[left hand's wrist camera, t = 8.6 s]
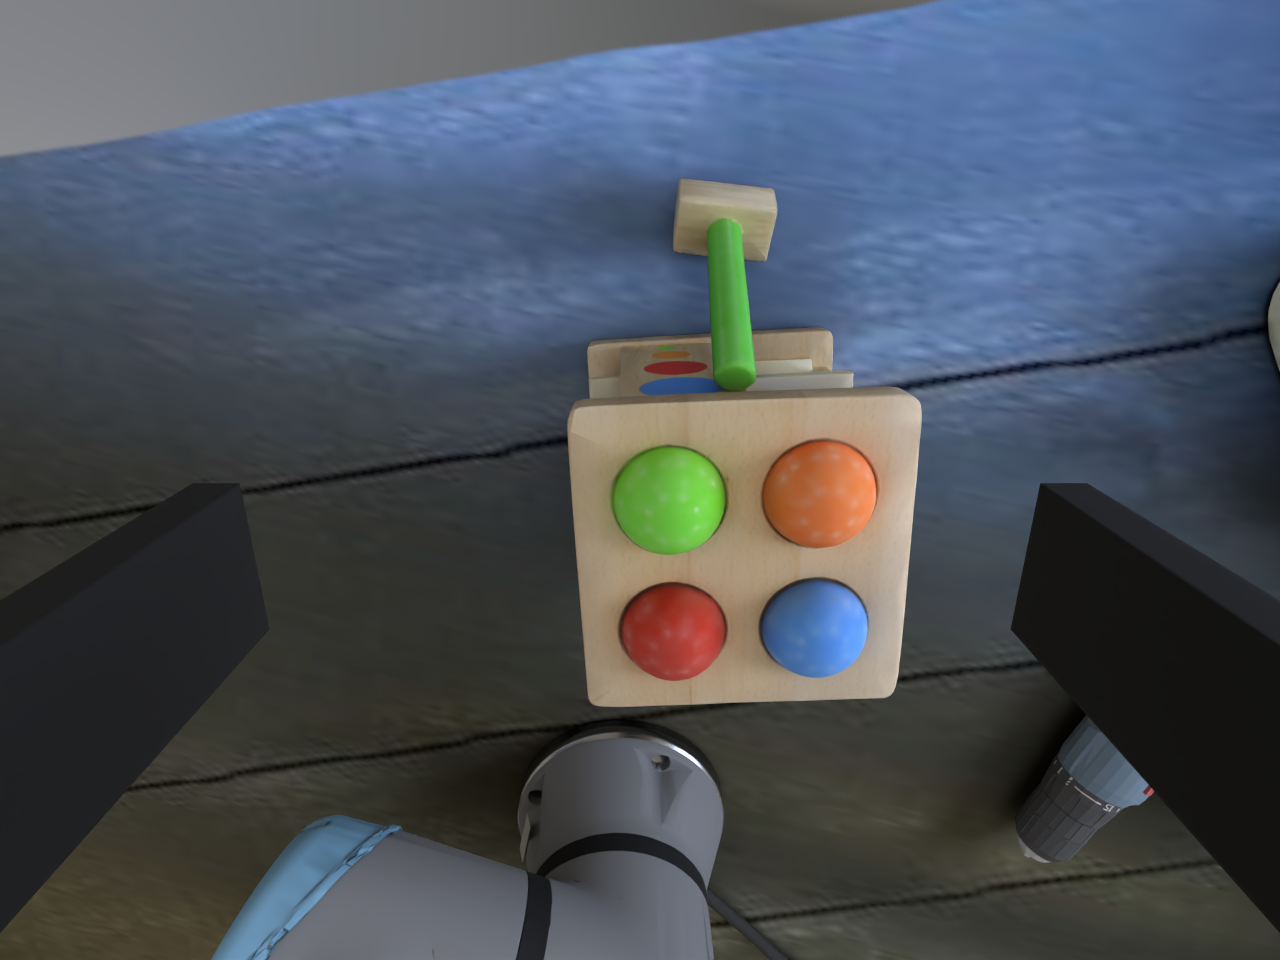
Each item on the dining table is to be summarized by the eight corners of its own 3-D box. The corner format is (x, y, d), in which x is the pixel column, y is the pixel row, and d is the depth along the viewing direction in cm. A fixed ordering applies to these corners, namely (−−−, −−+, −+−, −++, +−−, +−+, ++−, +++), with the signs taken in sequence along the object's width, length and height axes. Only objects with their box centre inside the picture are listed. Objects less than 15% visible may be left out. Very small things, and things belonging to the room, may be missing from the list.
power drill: (1189, 893, 59) (979, 813, 56) (1355, 720, 53) (1130, 621, 50) (1240, 957, 54) (1012, 873, 51) (1431, 773, 48) (1185, 666, 45)
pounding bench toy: (577, 184, 40) (533, 165, 24) (835, 172, 40) (975, 144, 23) (603, 557, 48) (583, 741, 32) (818, 548, 48) (914, 728, 31)
